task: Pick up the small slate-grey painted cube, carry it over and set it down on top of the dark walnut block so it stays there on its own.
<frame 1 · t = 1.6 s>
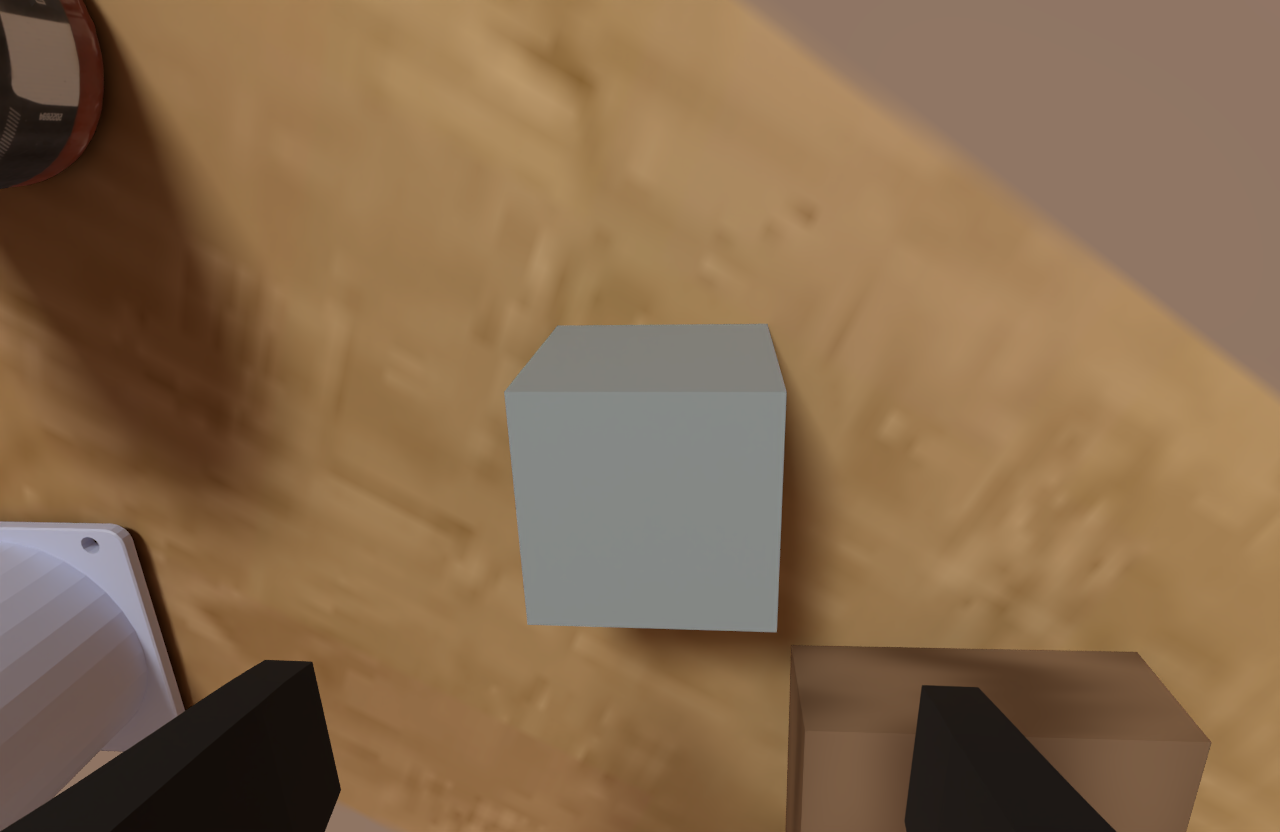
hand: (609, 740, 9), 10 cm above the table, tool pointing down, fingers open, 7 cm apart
grey cube: (663, 421, 19), on the table
supplement bottle: (1, 49, 17), on the table
walnut block: (940, 766, 22), on the table
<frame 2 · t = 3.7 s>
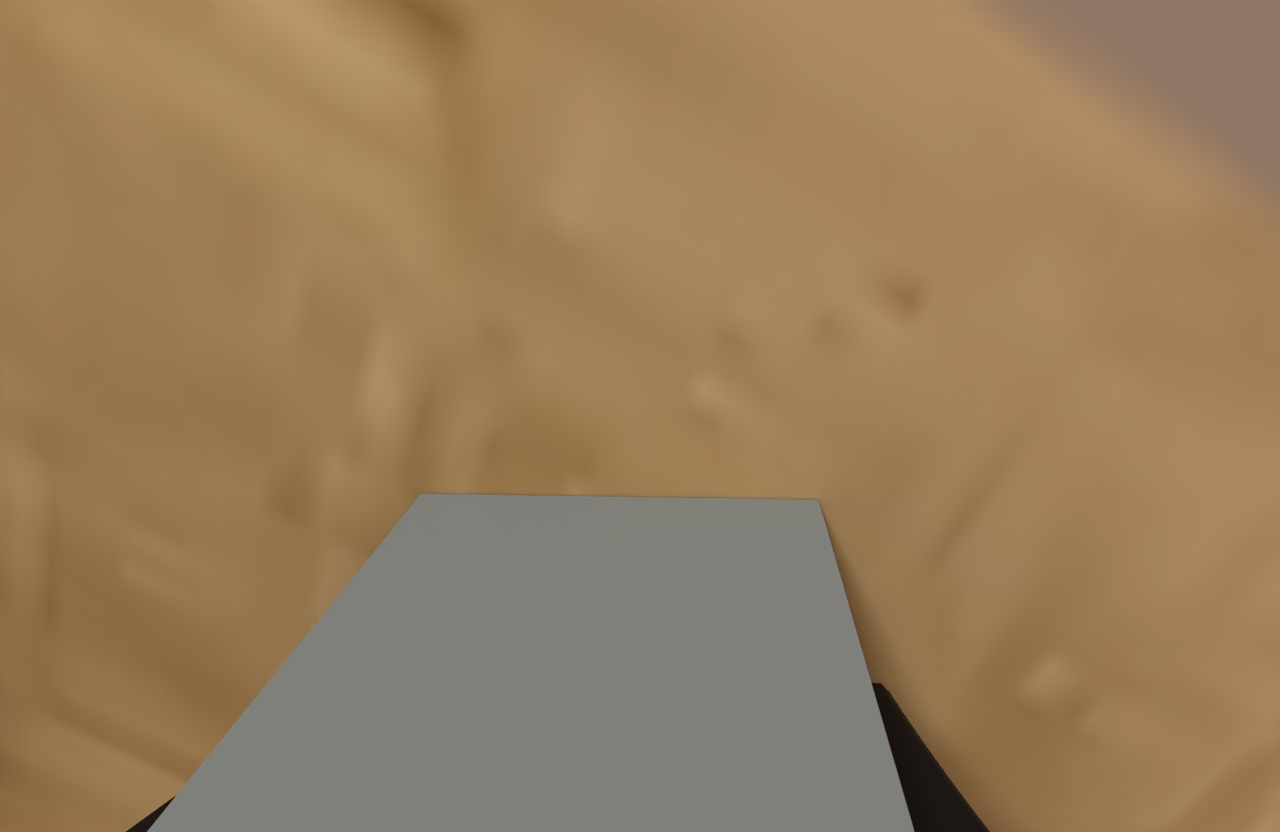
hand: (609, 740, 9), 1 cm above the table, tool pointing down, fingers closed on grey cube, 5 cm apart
grey cube: (622, 660, 10), on the table, touching gripper
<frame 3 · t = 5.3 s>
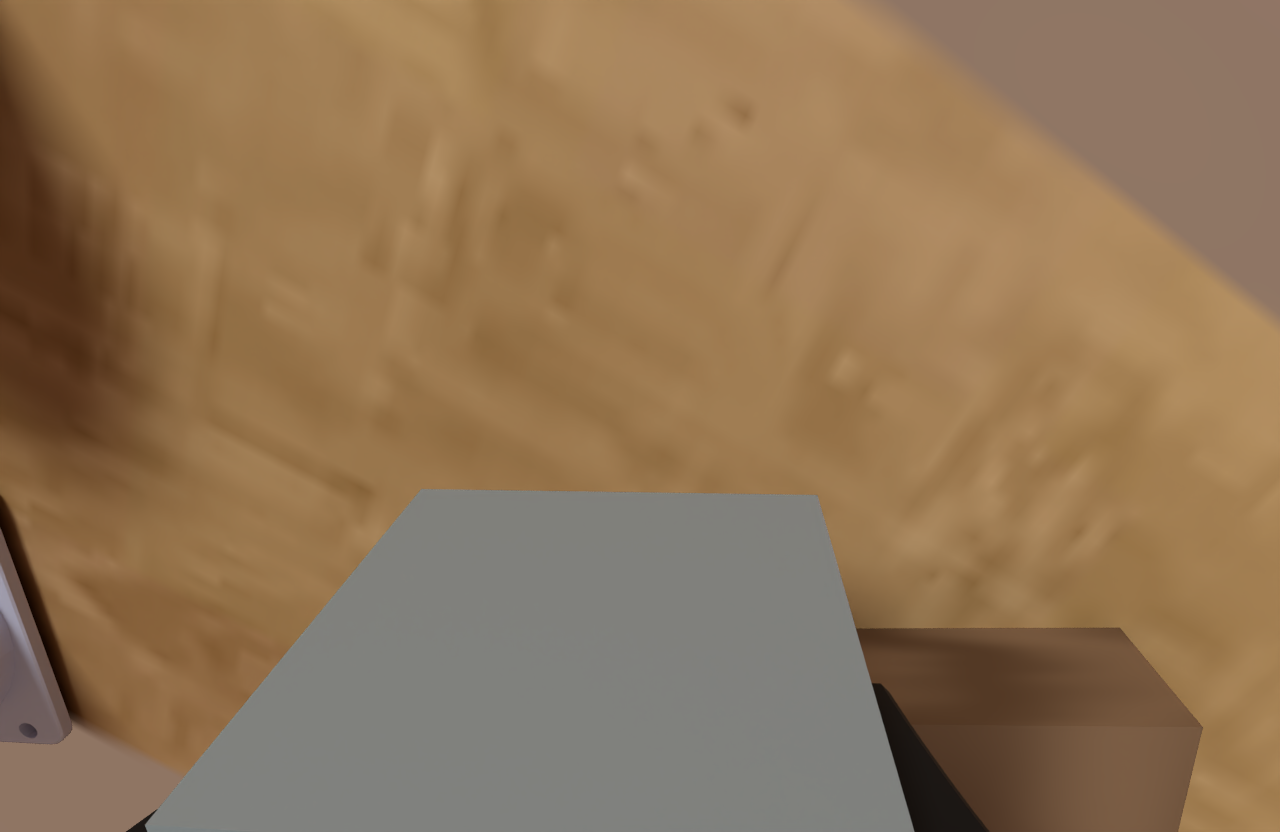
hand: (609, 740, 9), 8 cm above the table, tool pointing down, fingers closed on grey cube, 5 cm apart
grey cube: (621, 656, 10), point 7 cm above the table, touching gripper
walnut block: (905, 762, 20), on the table
when the fingers open (6 cm above the table, at t = 7.0 s): grey cube drops 2 cm, resting on walnut block.
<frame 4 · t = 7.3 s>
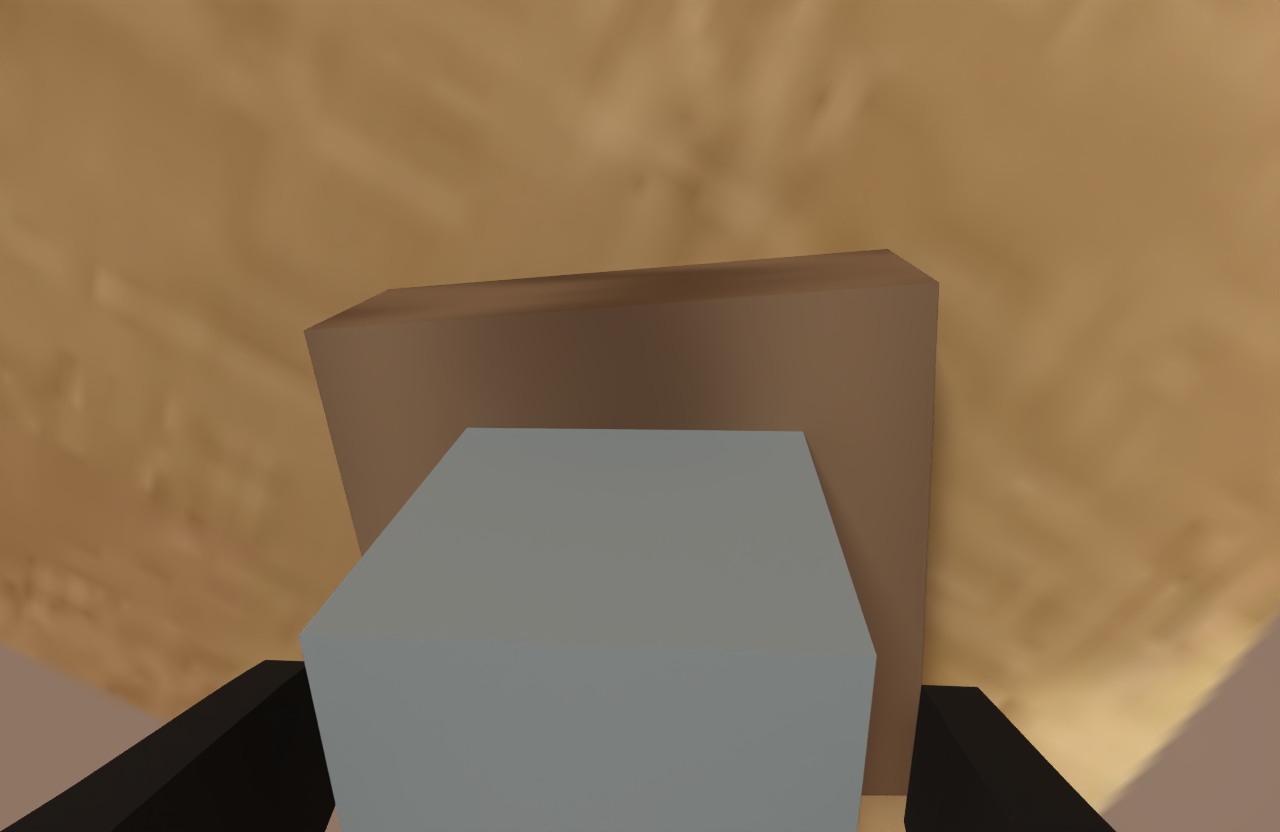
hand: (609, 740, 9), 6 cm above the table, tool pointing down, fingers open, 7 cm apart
grey cube: (635, 574, 12), point 3 cm above the table, touching walnut block
walnut block: (652, 486, 15), on the table, touching grey cube
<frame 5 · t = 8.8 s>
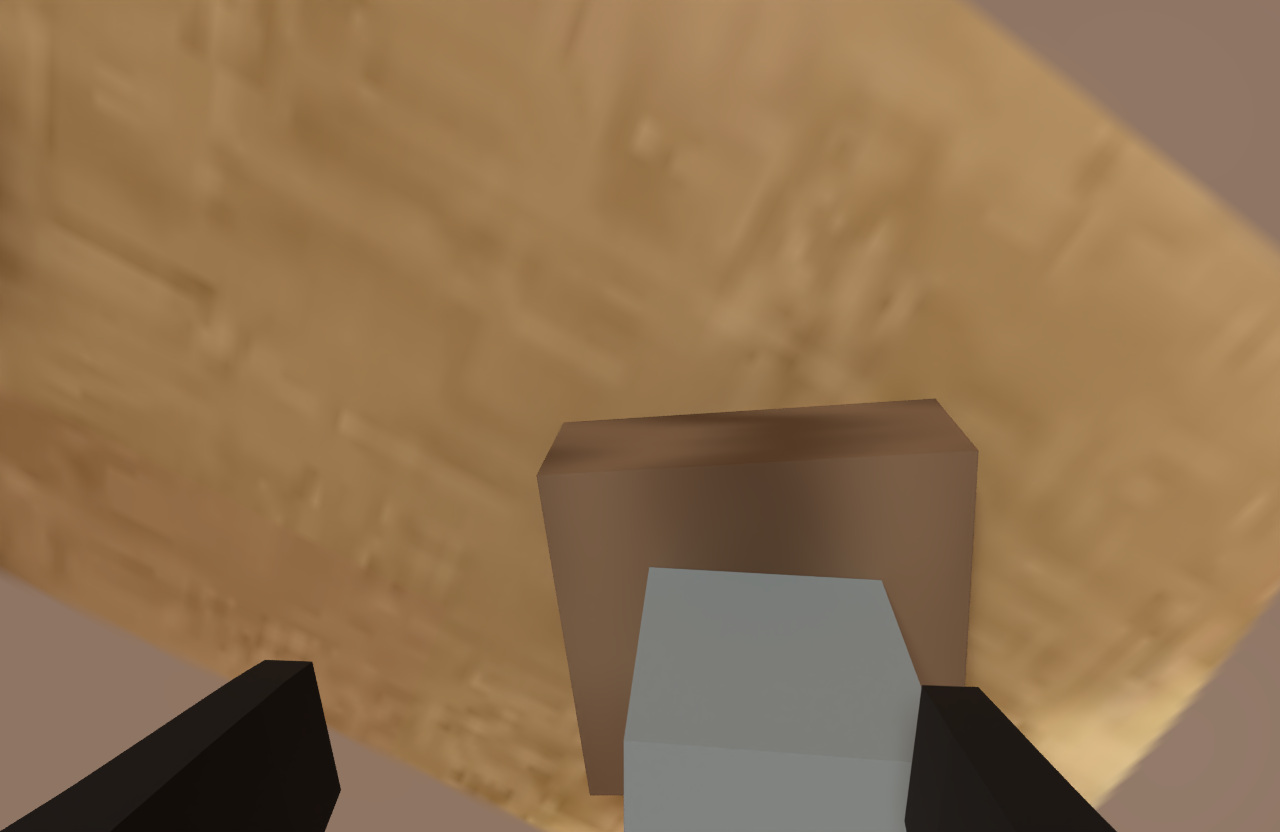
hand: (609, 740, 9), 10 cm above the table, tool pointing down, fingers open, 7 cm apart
grey cube: (756, 666, 17), point 3 cm above the table, touching walnut block
walnut block: (752, 561, 20), on the table, touching grey cube
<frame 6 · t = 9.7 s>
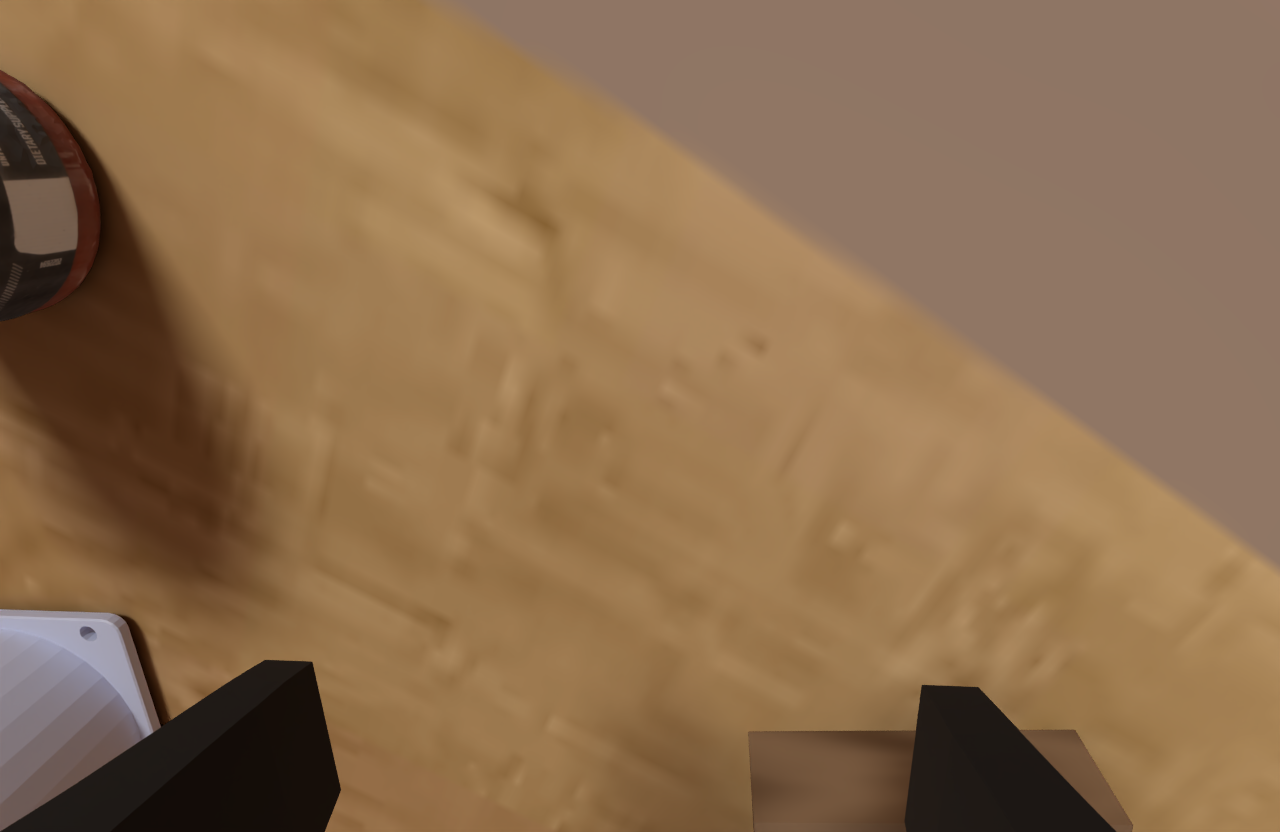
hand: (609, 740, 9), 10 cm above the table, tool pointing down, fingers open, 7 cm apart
supplement bottle: (4, 187, 18), on the table
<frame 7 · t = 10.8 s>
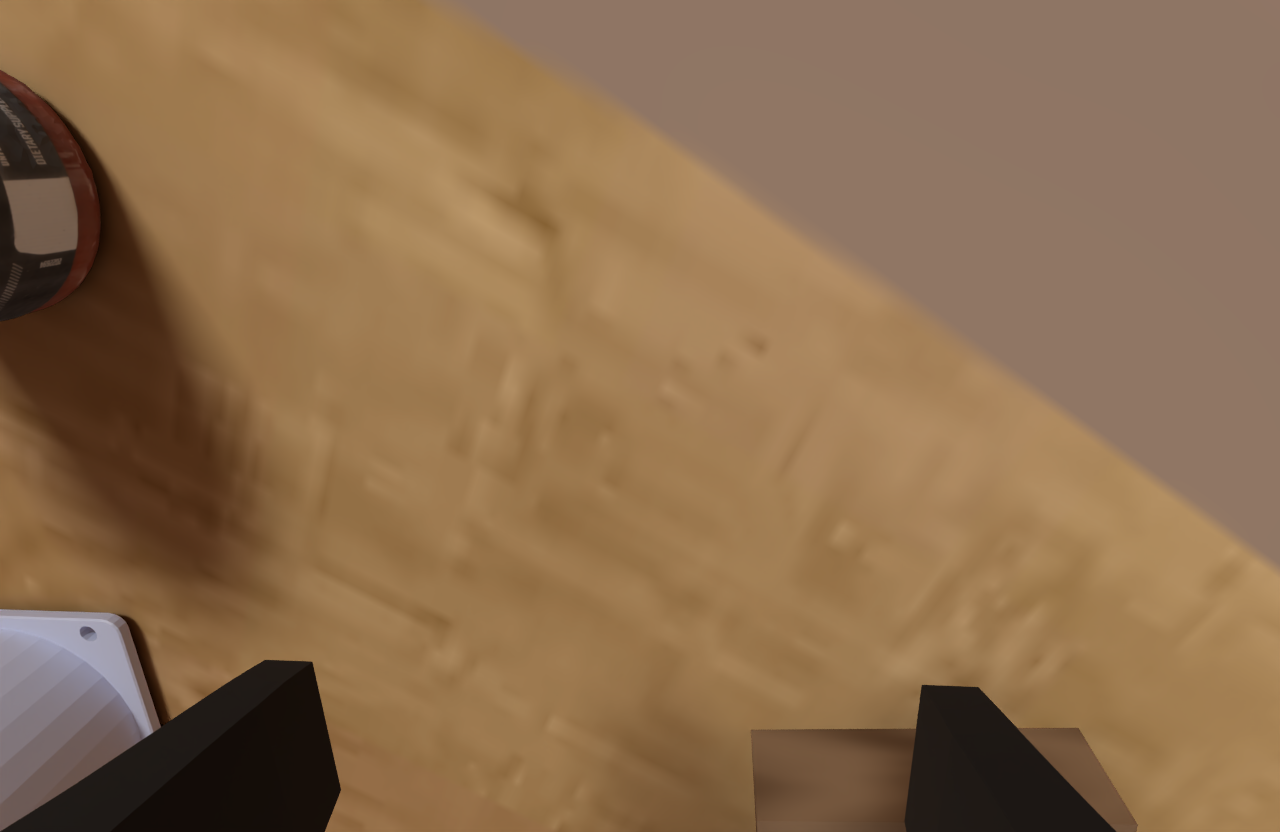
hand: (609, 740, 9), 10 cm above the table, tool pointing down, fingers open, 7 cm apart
supplement bottle: (4, 187, 18), on the table
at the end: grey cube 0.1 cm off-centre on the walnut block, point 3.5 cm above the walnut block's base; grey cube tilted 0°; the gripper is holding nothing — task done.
